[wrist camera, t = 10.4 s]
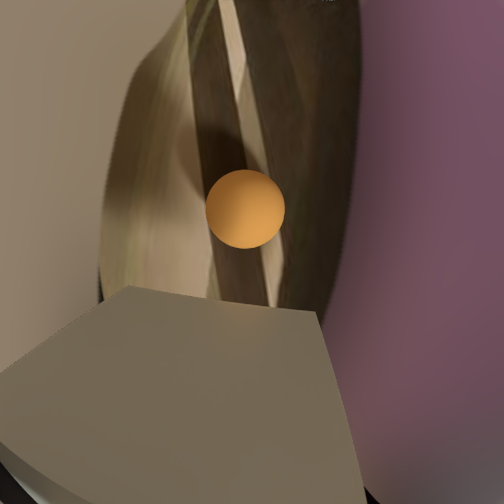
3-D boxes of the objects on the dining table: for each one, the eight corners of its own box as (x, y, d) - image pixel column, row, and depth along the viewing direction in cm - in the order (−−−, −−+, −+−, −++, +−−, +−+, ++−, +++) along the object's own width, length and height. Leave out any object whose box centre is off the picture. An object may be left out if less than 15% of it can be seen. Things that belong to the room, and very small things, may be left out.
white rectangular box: (283, 440, 12) (278, 587, 3) (142, 414, 12) (73, 533, 4) (315, 312, 10) (374, 539, 2) (128, 285, 11) (-39, 402, 2)
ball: (289, 195, 14) (289, 163, 18) (193, 186, 14) (215, 156, 18) (278, 269, 17) (281, 225, 21) (198, 259, 17) (216, 218, 21)
